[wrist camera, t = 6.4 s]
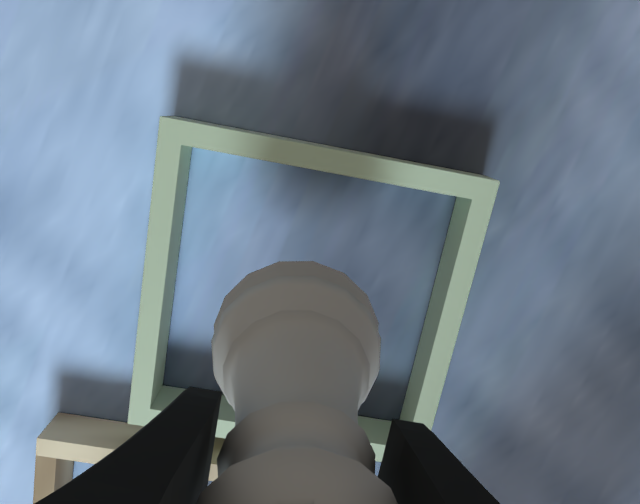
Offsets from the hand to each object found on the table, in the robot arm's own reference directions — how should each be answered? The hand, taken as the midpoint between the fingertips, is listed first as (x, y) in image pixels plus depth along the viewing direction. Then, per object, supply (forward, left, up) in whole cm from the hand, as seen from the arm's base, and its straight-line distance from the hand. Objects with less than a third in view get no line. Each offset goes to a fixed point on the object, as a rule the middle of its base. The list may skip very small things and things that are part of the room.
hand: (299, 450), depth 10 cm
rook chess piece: (0, 0, -5) cm, 5 cm away
